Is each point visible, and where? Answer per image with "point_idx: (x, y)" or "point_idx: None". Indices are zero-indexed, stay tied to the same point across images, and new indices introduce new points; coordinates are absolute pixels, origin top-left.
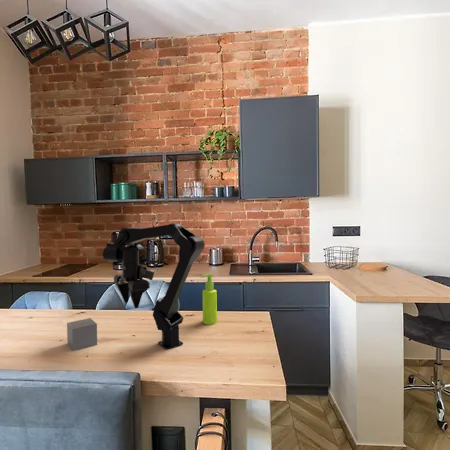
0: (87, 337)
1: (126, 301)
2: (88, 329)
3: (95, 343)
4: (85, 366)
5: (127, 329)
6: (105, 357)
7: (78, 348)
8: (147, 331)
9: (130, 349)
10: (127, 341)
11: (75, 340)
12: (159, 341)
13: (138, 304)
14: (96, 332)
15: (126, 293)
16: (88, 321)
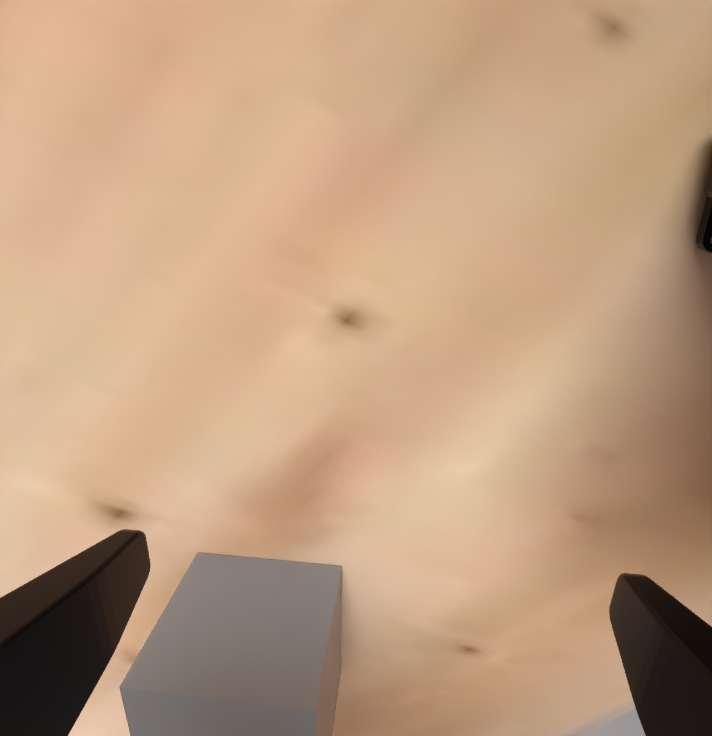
0: (331, 668)
1: (140, 565)
2: (321, 721)
3: (339, 582)
4: (588, 694)
5: (181, 303)
6: (570, 600)
7: (339, 654)
8: (344, 178)
9: (592, 456)
10: (435, 411)
11: (332, 721)
12: (705, 230)
13: (703, 634)
14: (329, 642)
15: (4, 718)
16: (210, 725)
